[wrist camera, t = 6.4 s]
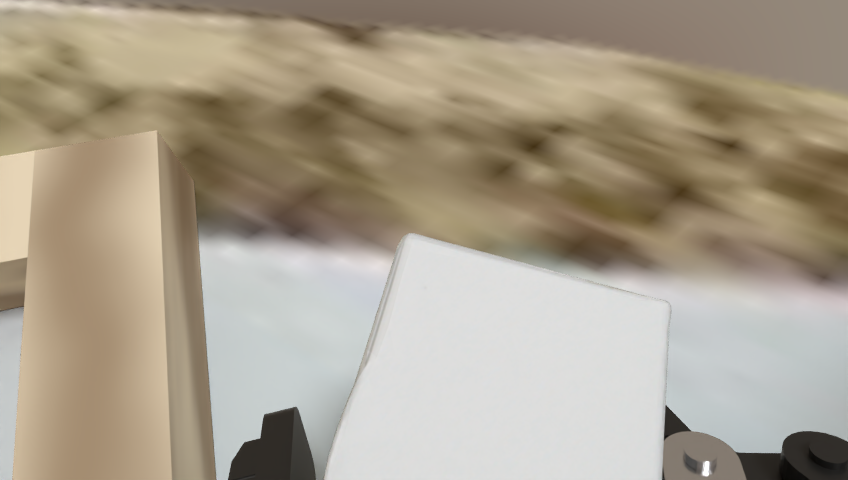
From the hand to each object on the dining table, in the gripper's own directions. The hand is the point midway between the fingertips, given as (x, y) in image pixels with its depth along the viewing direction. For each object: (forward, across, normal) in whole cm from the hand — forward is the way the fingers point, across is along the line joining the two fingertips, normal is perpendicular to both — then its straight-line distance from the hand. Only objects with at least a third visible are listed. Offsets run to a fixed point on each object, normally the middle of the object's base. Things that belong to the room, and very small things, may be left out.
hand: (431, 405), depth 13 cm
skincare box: (+3, 0, +5) cm, 6 cm away
